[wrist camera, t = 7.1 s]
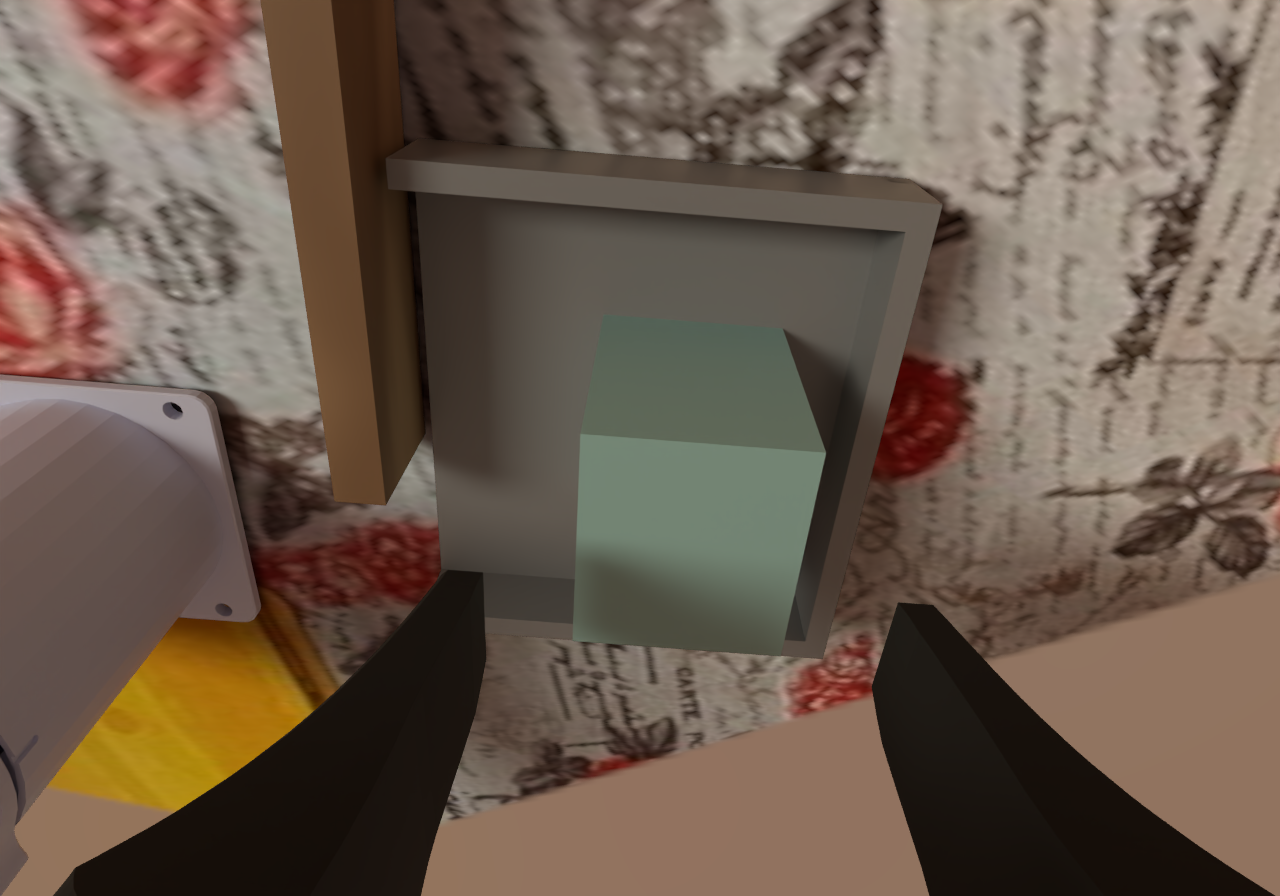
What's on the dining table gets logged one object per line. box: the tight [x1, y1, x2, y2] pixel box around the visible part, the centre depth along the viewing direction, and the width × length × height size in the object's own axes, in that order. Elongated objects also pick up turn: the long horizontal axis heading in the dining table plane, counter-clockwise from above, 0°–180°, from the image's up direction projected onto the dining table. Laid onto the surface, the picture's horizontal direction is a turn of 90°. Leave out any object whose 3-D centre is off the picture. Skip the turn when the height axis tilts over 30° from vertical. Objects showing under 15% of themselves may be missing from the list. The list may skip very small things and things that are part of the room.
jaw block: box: [573, 315, 826, 656], centre depth 18 cm, size 4×5×6 cm
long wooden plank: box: [261, 0, 425, 505], centre depth 16 cm, size 1×16×4 cm, turn 176°
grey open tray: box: [385, 138, 943, 659], centre depth 20 cm, size 11×13×2 cm
